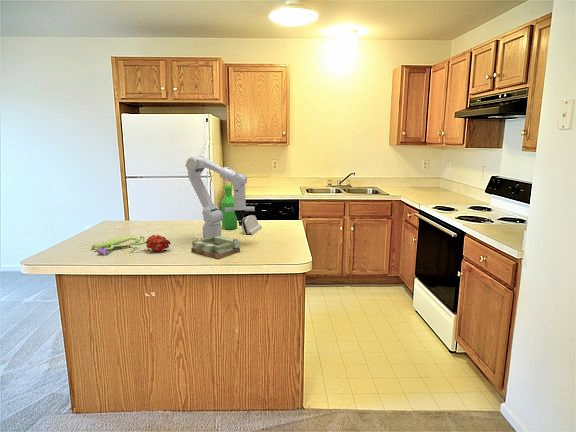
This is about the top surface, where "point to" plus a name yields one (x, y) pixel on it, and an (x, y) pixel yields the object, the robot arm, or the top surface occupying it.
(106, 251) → the figurine
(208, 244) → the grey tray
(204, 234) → the robot arm
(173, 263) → the top surface
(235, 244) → the hinged leg
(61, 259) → the top surface
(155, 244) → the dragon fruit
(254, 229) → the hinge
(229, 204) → the bottle
